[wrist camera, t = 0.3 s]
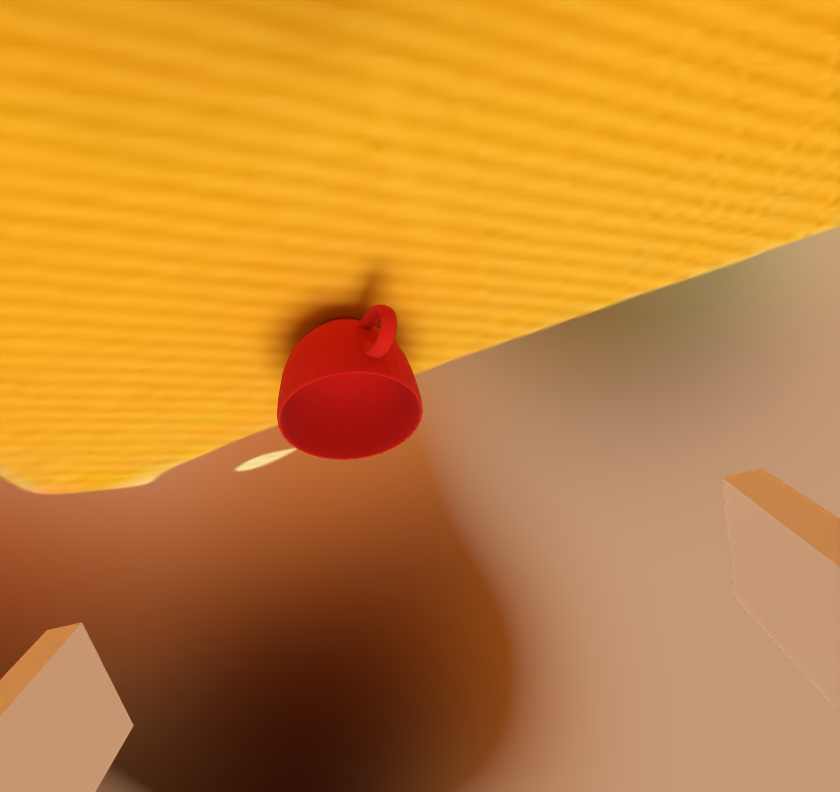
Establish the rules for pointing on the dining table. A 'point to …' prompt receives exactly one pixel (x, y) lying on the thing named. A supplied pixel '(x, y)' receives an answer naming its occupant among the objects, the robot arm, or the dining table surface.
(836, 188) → the dining table surface
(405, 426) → the ceramic cup
